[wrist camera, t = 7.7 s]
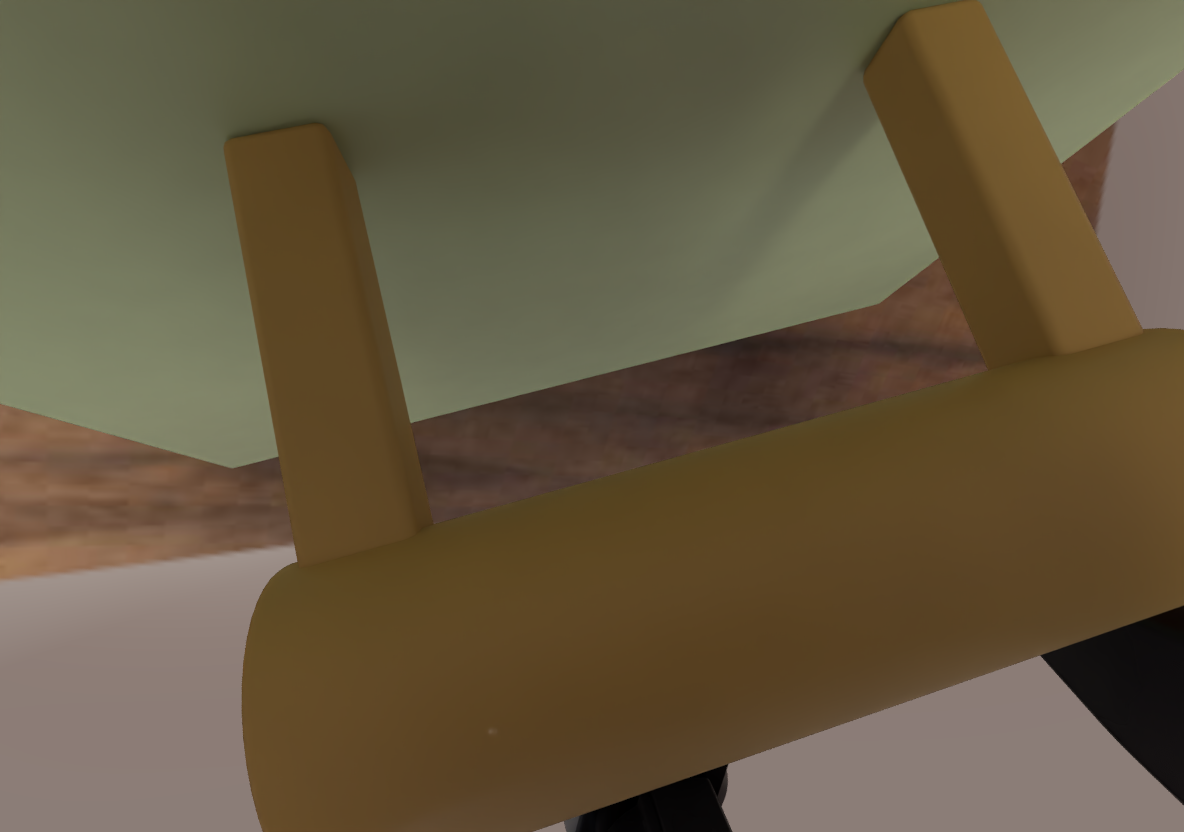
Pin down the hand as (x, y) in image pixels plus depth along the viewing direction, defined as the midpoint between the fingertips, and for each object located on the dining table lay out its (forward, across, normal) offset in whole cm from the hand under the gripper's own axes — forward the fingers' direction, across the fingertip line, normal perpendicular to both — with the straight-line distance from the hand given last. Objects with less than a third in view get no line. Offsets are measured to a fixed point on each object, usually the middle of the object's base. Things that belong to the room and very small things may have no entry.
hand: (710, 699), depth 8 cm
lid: (+1, 0, -7) cm, 7 cm away
